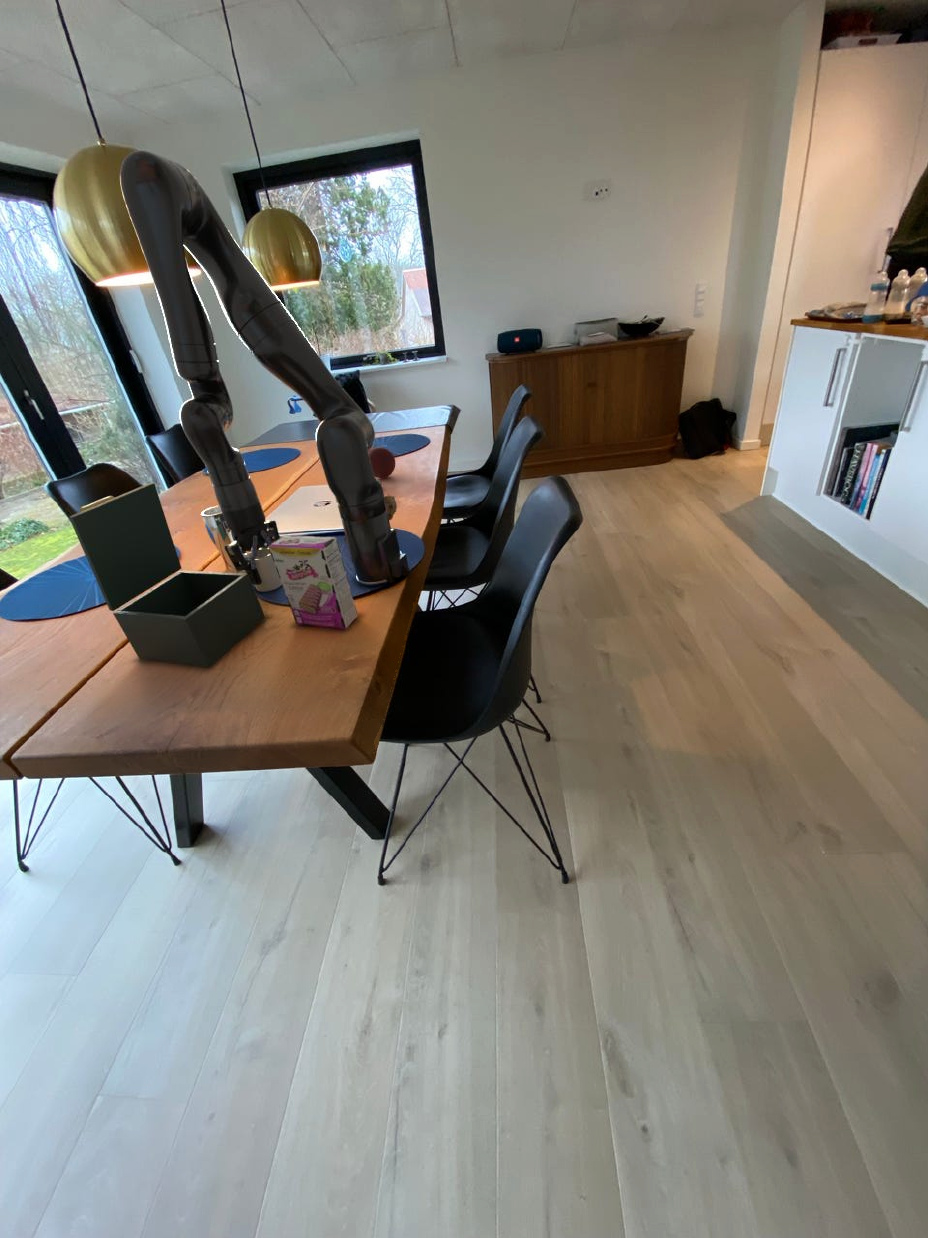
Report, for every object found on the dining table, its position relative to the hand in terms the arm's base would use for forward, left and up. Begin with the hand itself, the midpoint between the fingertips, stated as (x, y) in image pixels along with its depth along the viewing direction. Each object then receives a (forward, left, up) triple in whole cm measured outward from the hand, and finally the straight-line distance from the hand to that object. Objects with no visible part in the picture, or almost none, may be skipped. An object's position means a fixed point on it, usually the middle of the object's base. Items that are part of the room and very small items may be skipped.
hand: (266, 576), depth 111 cm
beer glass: (+13, -6, -2) cm, 15 cm away
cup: (0, 0, -2) cm, 2 cm away
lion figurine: (-12, -28, -2) cm, 31 cm away
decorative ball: (+8, -74, -2) cm, 74 cm away
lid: (+6, +20, +17) cm, 27 cm away
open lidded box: (0, +21, -2) cm, 21 cm away
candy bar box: (-22, +12, -2) cm, 25 cm away
